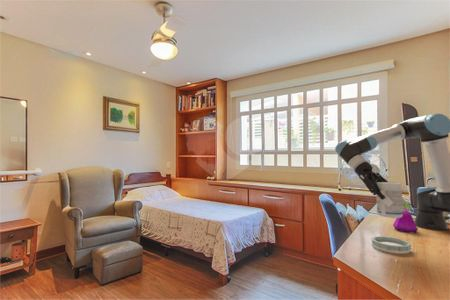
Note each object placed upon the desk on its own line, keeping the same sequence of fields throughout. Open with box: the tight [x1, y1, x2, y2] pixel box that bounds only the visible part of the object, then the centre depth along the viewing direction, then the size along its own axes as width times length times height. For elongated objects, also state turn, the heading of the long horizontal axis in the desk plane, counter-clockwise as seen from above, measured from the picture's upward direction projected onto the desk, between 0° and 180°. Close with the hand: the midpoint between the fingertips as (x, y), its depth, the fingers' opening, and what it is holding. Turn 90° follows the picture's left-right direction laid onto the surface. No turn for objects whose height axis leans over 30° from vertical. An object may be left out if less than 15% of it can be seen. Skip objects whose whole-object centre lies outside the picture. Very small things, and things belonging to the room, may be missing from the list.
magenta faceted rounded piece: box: [392, 202, 419, 233], centre depth 137 cm, size 11×11×15 cm
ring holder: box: [371, 235, 412, 255], centre depth 109 cm, size 14×14×3 cm
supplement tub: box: [375, 181, 404, 219], centre depth 110 cm, size 10×10×15 cm
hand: (397, 203), depth 107 cm, fingers closed on supplement tub, 9 cm apart
